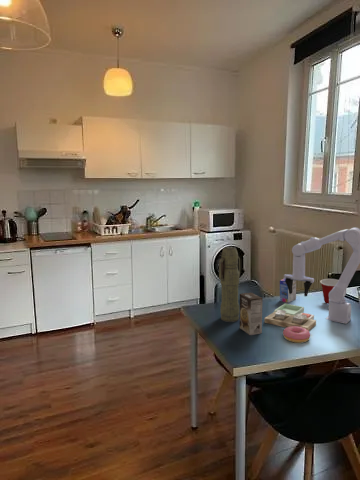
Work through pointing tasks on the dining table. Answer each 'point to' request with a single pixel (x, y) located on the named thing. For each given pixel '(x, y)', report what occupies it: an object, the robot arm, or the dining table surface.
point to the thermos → (229, 284)
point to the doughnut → (296, 334)
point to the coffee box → (251, 313)
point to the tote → (291, 309)
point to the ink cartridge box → (287, 291)
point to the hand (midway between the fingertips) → (298, 294)
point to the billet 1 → (280, 315)
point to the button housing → (310, 317)
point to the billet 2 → (300, 319)
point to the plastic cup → (327, 287)
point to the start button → (307, 314)
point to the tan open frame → (288, 321)
